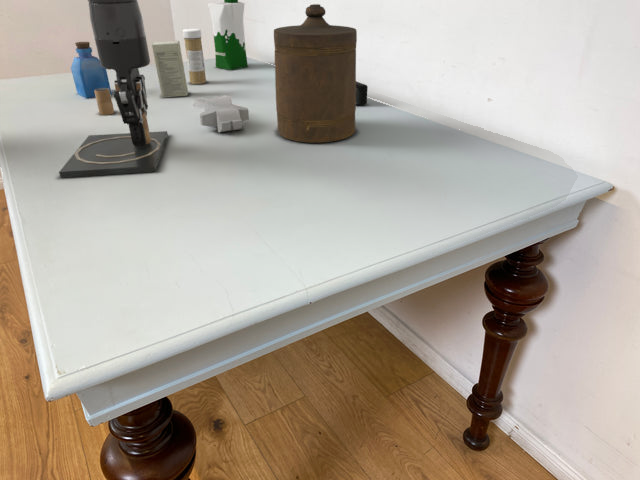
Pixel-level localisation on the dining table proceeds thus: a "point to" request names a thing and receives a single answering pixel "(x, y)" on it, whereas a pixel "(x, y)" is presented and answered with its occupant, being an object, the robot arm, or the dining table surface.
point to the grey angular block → (222, 113)
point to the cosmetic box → (170, 68)
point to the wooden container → (315, 79)
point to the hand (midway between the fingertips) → (141, 141)
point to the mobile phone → (361, 93)
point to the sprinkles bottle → (194, 55)
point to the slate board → (114, 155)
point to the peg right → (145, 126)
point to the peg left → (104, 101)
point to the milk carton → (228, 34)
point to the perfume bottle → (88, 72)
